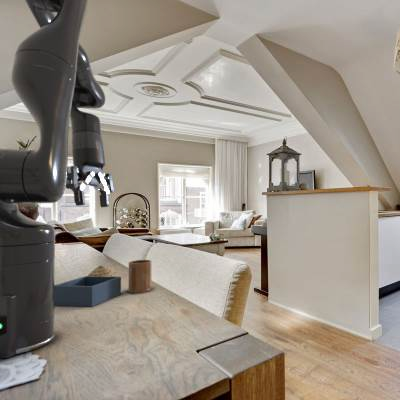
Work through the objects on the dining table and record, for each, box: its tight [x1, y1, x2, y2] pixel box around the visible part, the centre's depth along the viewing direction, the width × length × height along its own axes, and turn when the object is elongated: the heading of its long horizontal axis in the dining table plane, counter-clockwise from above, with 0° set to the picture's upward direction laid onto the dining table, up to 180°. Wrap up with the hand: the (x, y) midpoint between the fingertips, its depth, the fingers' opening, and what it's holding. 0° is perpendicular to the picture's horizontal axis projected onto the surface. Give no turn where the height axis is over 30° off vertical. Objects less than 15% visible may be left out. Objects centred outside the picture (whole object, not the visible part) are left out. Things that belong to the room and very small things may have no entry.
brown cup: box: [127, 259, 153, 294], centre depth 87 cm, size 6×6×8 cm
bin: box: [54, 275, 122, 307], centre depth 78 cm, size 10×10×5 cm
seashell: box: [87, 265, 118, 277], centre depth 100 cm, size 8×6×8 cm
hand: (93, 206), depth 88 cm, fingers open, 8 cm apart
